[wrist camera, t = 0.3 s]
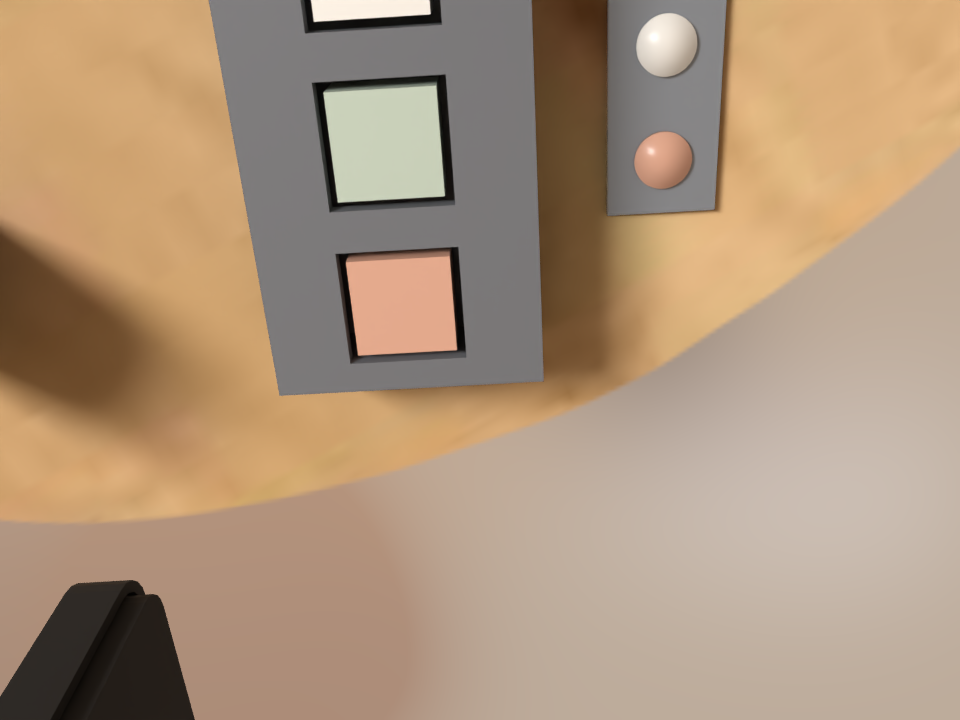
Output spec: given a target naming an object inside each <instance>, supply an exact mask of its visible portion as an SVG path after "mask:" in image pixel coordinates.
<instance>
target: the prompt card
mask: <svg viewBox="0 0 960 720" xmlns="http://www.w3.org/2000/svg"><path fill="white" fill-rule="evenodd" d="M726 1H727V0H607V216H614V215H631V214H648V213H665V212H682V211H699V210H715V193H716V175H717V158H718V140H719V123H720V106H721V88H722V71H723V53H724V36H725V19H726Z"/></svg>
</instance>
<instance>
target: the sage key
mask: <svg viewBox="0 0 960 720" xmlns="http://www.w3.org/2000/svg"><path fill="white" fill-rule="evenodd" d="M323 94H324V101H325V109H326V116H327V124H328V132H329V139H330V147H331V154H332V162H333V169H334V177H335V184H336V192H337V199H338V203H340V202H357V201H374V200H391V199H407V198H424V197H441V196H445V190H446V181H447V180H446V167H445V154H444V141H443V128H442V115H441V102H440V89H439V76H425V77H409V78H393V79H376V80H360V81H344V82H332V83H331V84H330V85H329V87H328V88H327V89H326V90H325V91H324V92H323Z"/></svg>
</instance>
